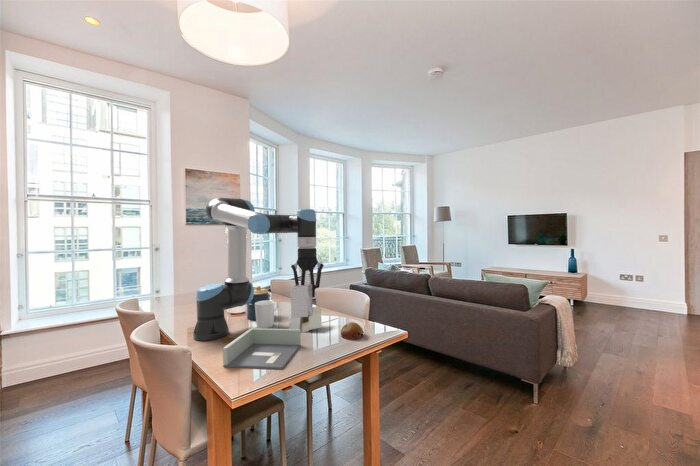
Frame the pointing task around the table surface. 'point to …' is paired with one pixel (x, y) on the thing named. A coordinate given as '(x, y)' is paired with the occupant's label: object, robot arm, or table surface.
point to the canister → (258, 296)
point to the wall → (307, 321)
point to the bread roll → (351, 331)
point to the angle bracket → (301, 300)
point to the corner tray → (262, 348)
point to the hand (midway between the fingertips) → (307, 305)
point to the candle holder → (264, 313)
